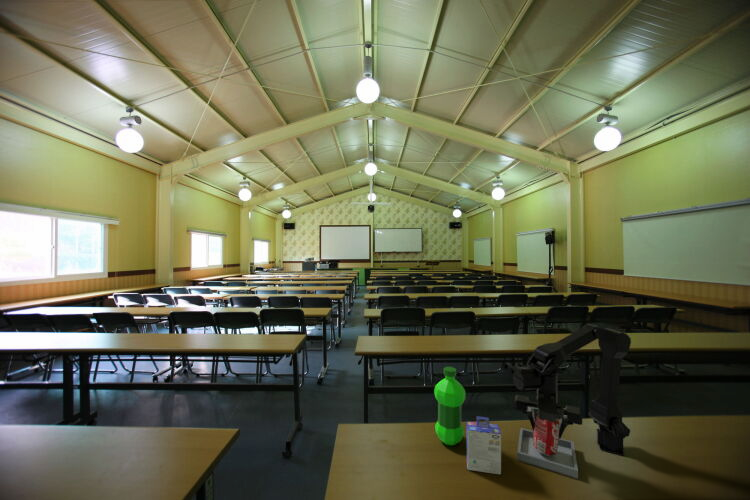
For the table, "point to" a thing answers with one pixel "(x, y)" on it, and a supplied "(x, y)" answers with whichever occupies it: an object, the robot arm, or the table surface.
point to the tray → (558, 463)
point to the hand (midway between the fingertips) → (546, 434)
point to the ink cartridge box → (483, 446)
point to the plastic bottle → (449, 408)
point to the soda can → (546, 436)
